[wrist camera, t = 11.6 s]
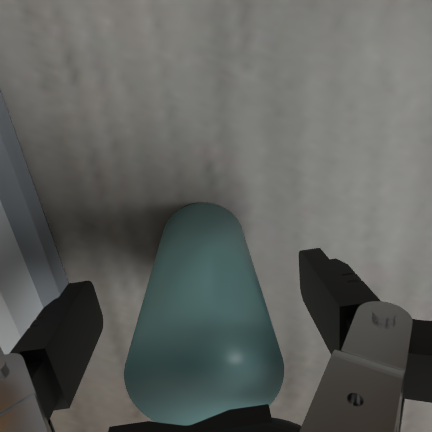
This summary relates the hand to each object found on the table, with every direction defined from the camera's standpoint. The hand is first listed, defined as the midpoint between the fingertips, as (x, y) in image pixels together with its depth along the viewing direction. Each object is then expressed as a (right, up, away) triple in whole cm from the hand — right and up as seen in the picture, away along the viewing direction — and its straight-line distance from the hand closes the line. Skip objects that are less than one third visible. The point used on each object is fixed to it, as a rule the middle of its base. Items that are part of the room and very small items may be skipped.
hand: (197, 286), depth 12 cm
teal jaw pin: (0, +1, +3) cm, 4 cm away
